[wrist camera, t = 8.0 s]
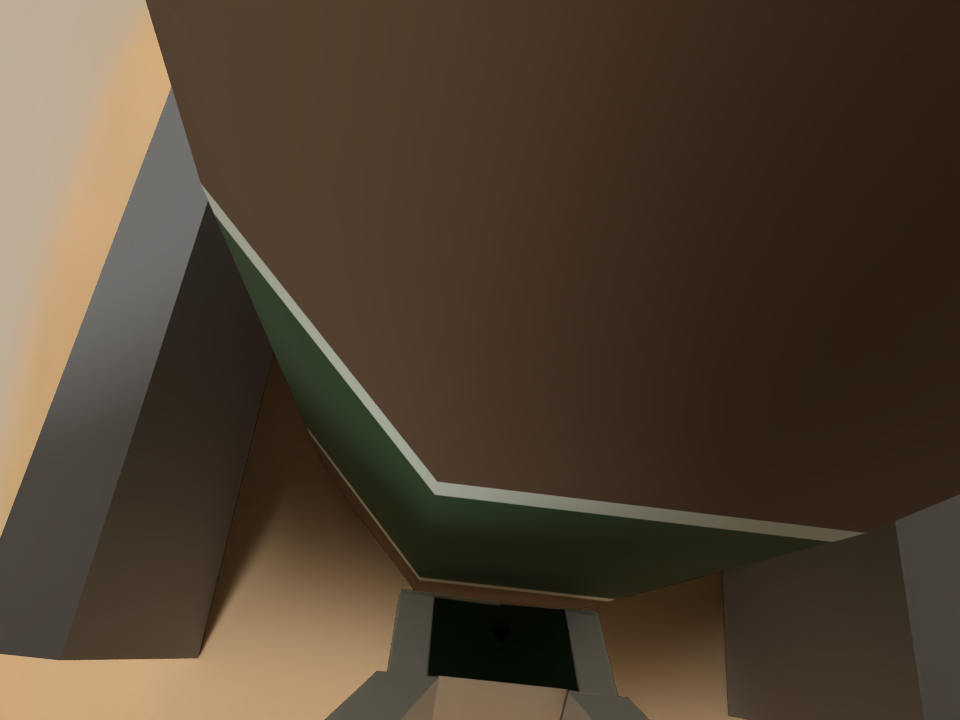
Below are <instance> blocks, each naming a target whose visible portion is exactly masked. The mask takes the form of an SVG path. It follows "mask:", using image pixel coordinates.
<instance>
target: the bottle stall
mask: <svg viewBox="0 0 960 720" xmlns="http://www.w3.org/2000/svg"><path fill="white" fill-rule="evenodd" d="M273 352H274V351H273V349H272V346H271V344H270V342H269V339H268V337H267V335H266V333H265V330H264V328H263V326H262V323H261V321H260V319H259V316H258V314H257V312H256V309H255V307H254V305H253V303H252V300H251V298H250V296H249V293H248V291H247V289H246V286H245V284H244V282H243V280H242V277H241V275H240V273H239V270H238V268H237V266H236V263H235V261H234V259H233V256H232V254H231V252H230V250H229V247H228V245H227V243H226V240H225V238H224V236H223V233H222V231H221V229H220V226H219V224H218V222H217V220H216V217H215V215H214V213H213V210H212V208H211V206H210V203H209V201H208V199H207V196H206V194H205V192H204V190H203V187H202V185H201V183H200V179H199V176H198V173H197V169H196V166H195V163H194V159H193V156H192V153H191V149H190V146H189V143H188V139H187V136H186V133H185V129H184V126H183V123H182V119H181V116H180V113H179V109H178V106H177V103H176V99H175V96H174V93H173V89H172V87H171V90H170V92H169V95H168V98H167V100H166V103H165V106H164V108H163V111H162V114H161V116H160V119H159V121H158V124H157V127H156V129H155V132H154V135H153V137H152V140H151V143H150V145H149V148H148V150H147V153H146V156H145V158H144V161H143V164H142V166H141V169H140V172H139V174H138V177H137V179H136V182H135V185H134V187H133V190H132V193H131V195H130V198H129V201H128V203H127V206H126V208H125V211H124V214H123V216H122V219H121V222H120V224H119V227H118V230H117V232H116V235H115V237H114V240H113V243H112V245H111V248H110V251H109V253H108V256H107V259H106V261H105V264H104V266H103V269H102V272H101V274H100V277H99V280H98V282H97V285H96V288H95V290H94V293H93V295H92V298H91V301H90V303H89V306H88V309H87V311H86V314H85V317H84V319H83V322H82V324H81V327H80V330H79V332H78V335H77V338H76V340H75V343H74V346H73V348H72V351H71V353H70V356H69V359H68V361H67V364H66V367H65V369H64V372H63V375H62V377H61V380H60V382H59V385H58V388H57V390H56V393H55V396H54V398H53V401H52V404H51V406H50V409H49V411H48V414H47V417H46V419H45V422H44V425H43V427H42V430H41V433H40V435H39V438H38V440H37V443H36V446H35V448H34V451H33V454H32V456H31V459H30V462H29V464H28V467H27V469H26V472H25V475H24V477H23V480H22V483H21V485H20V488H19V491H18V493H17V496H16V498H15V501H14V504H13V506H12V509H11V512H10V514H9V517H8V520H7V522H6V525H5V527H4V530H3V533H2V535H1V538H0V654H8V655H17V656H26V657H36V658H45V659H54V660H107V659H179V658H198V656H199V652H200V648H201V644H202V640H203V636H204V632H205V627H206V623H207V619H208V615H209V611H210V607H211V603H212V599H213V595H214V591H215V587H216V583H217V579H218V575H219V571H220V567H221V563H222V559H223V555H224V550H225V546H226V542H227V538H228V534H229V530H230V526H231V522H232V518H233V514H234V510H235V506H236V502H237V498H238V494H239V490H240V486H241V482H242V477H243V473H244V469H245V465H246V461H247V457H248V453H249V449H250V445H251V441H252V437H253V433H254V429H255V425H256V421H257V417H258V413H259V409H260V404H261V400H262V396H263V392H264V388H265V384H266V380H267V376H268V372H269V368H270V364H271V360H272V356H273ZM722 574H723V598H724V622H725V646H726V670H727V694H728V716H732V717H737V718H742V719H748V720H960V495H957V496H955V497H952V498H950V499H947V500H945V501H943V502H940V503H938V504H935V505H933V506H931V507H928V508H926V509H923V510H921V511H918V512H916V513H914V514H911V515H909V516H906V517H904V518H902V519H899V520H897V521H894V522H892V523H889V524H887V525H885V526H882V527H880V528H877V529H875V530H873V531H870V532H868V533H865V534H861V535H857V536H853V537H850V538H846V539H842V540H838V541H835V542H831V543H827V544H823V545H820V546H816V547H812V548H808V549H804V550H801V551H797V552H793V553H789V554H786V555H782V556H778V557H774V558H771V559H767V560H763V561H759V562H756V563H752V564H748V565H744V566H740V567H737V568H733V569H729V570H725V571H722Z"/></svg>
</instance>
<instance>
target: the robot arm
mask: <svg viewBox="0 0 960 720" xmlns="http://www.w3.org/2000/svg"><path fill="white" fill-rule="evenodd" d="M325 720H649V719H648V718H647V717H646V716H645V715H644V713H643V712H642V711H641V710H640V709H639V708H638V707H637V706H636V705H635V704H634V703H633V702H632V701H631V700H630V699H629V698H628V697H620V696H618V694H617V689H616V685H615V681H614V677H613V673H612V669H611V665H610V660H609V656H608V652H607V648H606V644H605V640H604V636H603V631H602V627H601V623H600V619H599V615H598V614H597V613H596V611H595V610H587V609H576V608H565V607H563V608H557V607H547V606H538V605H528V604H519V603H510V602H500V601H494V600H486V599H479V598H472V597H464V596H457V595H450V594H442V593H435V594H433V593H431V592H424V591H416V590H408V589H401V591H400V594H399V599H398V605H397V611H396V618H395V624H394V630H393V637H392V643H391V650H390V656H389V662H388V669H387V672H383V671H376V672H375V673H374V674H373V675H372V676H371V677H370V678H369V679H368V680H367V681H366V682H365V683H363V684H362V685H361V686H360V687H359V688H358V689H357V690H356V691H355V692H354V693H353V694H352V695H351V696H350V697H348V698H347V699H346V700H345V701H344V702H343V703H342V704H341V705H340V706H339V707H338V708H337V709H336V710H335V711H333V712H332V713H331V714H330V715H329V716H328V717H327V718H326V719H325Z"/></svg>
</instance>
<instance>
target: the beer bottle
mask: <svg viewBox="0 0 960 720" xmlns="http://www.w3.org/2000/svg"><path fill="white" fill-rule="evenodd" d="M146 3H147V6H148V10H149V13H150V16H151V20H152V23H153V26H154V30H155V33H156V36H157V40H158V43H159V46H160V49H161V53H162V56H163V59H164V63H165V66H166V69H167V73H168V76H169V79H170V83H171V86H172V89H173V93H174V96H175V99H176V103H177V106H178V109H179V113H180V116H181V119H182V123H183V126H184V129H185V133H186V136H187V139H188V143H189V146H190V149H191V153H192V156H193V159H194V163H195V166H196V169H197V173H198V176H199V179H200V183H201V185H202V187H203V190H204V192H205V194H206V196H207V199H208V201H209V203H210V206H211V208H212V210H213V213H214V215H215V217H216V220H217V222H218V224H219V226H220V229H221V231H222V233H223V236H224V238H225V240H226V243H227V245H228V247H229V250H230V252H231V254H232V256H233V259H234V261H235V263H236V266H237V268H238V270H239V273H240V275H241V277H242V280H243V282H244V284H245V286H246V289H247V291H248V293H249V296H250V298H251V300H252V303H253V305H254V307H255V309H256V312H257V314H258V316H259V319H260V321H261V323H262V326H263V328H264V330H265V333H266V335H267V337H268V339H269V342H270V344H271V346H272V349H273V351H274V353H275V356H276V358H277V360H278V363H279V365H280V367H281V369H282V372H283V374H284V376H285V379H286V381H287V383H288V386H289V388H290V390H291V393H292V395H293V397H294V399H295V402H296V404H297V406H298V409H299V411H300V413H301V416H302V418H303V420H304V423H305V425H306V427H307V429H308V432H309V434H310V436H311V439H312V441H313V443H314V446H315V448H316V450H317V452H318V455H319V457H320V459H321V462H322V464H323V466H324V468H325V470H326V471H327V473H328V474H329V475H330V477H331V478H332V480H333V481H334V483H335V484H336V485H337V487H338V488H339V489H340V491H341V492H342V493H343V495H344V496H345V498H346V499H347V500H348V502H349V503H350V504H351V506H352V507H353V508H354V510H355V511H356V512H357V514H358V515H359V516H360V518H361V519H362V520H363V522H364V523H365V524H366V526H367V527H368V528H369V530H370V531H371V532H372V534H373V535H374V537H375V538H376V539H377V541H378V542H379V543H380V545H381V546H382V547H383V549H384V550H385V551H386V553H387V554H388V555H389V557H390V558H391V559H392V561H393V562H394V563H395V565H396V566H397V567H398V569H399V570H400V571H401V573H402V574H403V576H404V577H405V578H406V580H407V581H408V582H409V584H410V585H411V586H412V588H413V589H414V590H416V591H424V592H431V593H433V594H435V593H442V594H450V595H457V596H464V597H472V598H479V599H486V600H494V601H500V602H510V603H519V604H528V605H538V606H547V607H557V608H563V607H565V608H576V609H582V608H586V607H590V606H594V605H597V604H601V603H605V602H609V601H612V600H616V599H620V598H624V597H627V596H631V595H635V594H639V593H643V592H646V591H650V590H654V589H658V588H661V587H665V586H669V585H673V584H676V583H680V582H684V581H688V580H691V579H695V578H699V577H703V576H707V575H710V574H714V573H718V572H722V571H725V570H729V569H733V568H737V567H740V566H744V565H748V564H752V563H756V562H759V561H763V560H767V559H771V558H774V557H778V556H782V555H786V554H789V553H793V552H797V551H801V550H804V549H808V548H812V547H816V546H820V545H823V544H827V543H831V542H835V541H838V540H842V539H846V538H850V537H853V536H857V535H861V534H865V533H868V532H870V531H873V530H875V529H877V528H880V527H882V526H885V525H887V524H889V523H892V522H894V521H897V520H899V519H902V518H904V517H906V516H909V515H911V514H914V513H916V512H918V511H921V510H923V509H926V508H928V507H931V506H933V505H935V504H938V503H940V502H943V501H945V500H947V499H950V498H952V497H955V496H957V495H960V0H146Z"/></svg>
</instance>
